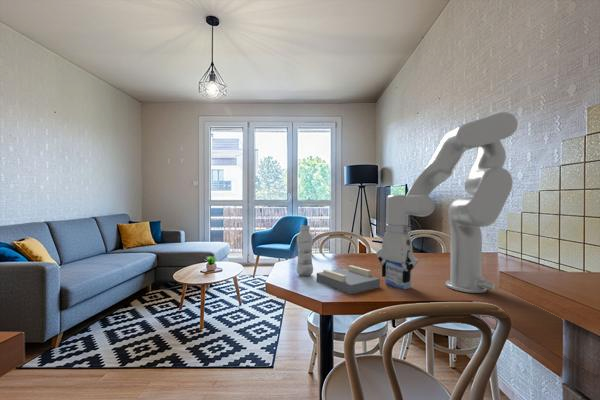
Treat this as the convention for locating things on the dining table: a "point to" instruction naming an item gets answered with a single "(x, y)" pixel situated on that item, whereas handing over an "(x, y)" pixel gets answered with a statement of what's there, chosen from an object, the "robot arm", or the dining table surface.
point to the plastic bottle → (304, 251)
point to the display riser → (349, 279)
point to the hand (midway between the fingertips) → (395, 278)
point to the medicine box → (396, 275)
